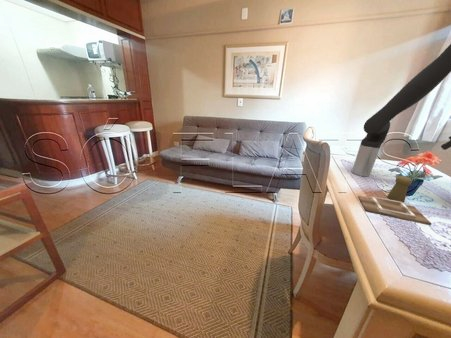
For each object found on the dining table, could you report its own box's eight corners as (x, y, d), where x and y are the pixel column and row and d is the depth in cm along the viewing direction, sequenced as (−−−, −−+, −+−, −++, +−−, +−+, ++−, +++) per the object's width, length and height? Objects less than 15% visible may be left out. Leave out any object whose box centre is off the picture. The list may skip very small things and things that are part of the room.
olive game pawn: (407, 203, 81) (418, 181, 76) (392, 201, 82) (402, 179, 77) (398, 196, 86) (408, 175, 82) (384, 195, 87) (393, 173, 83)
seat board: (357, 197, 84) (359, 193, 83) (413, 208, 77) (415, 204, 77) (365, 211, 73) (367, 207, 73) (430, 225, 67) (433, 220, 66)
